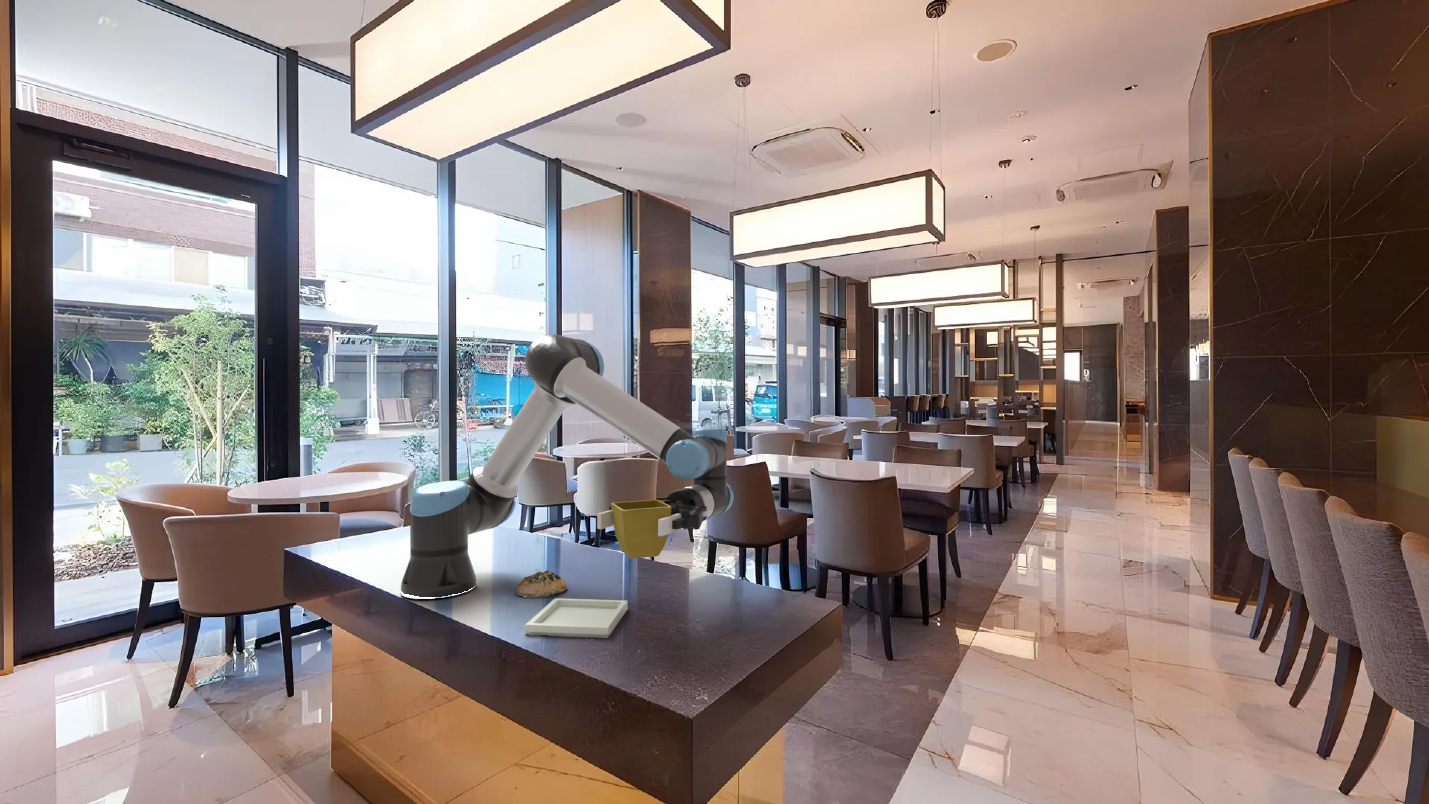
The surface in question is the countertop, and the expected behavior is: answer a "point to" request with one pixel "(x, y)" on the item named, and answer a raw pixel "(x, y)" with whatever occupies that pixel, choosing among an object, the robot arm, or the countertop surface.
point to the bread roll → (541, 585)
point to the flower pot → (639, 527)
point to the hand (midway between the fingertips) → (628, 524)
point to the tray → (577, 618)
